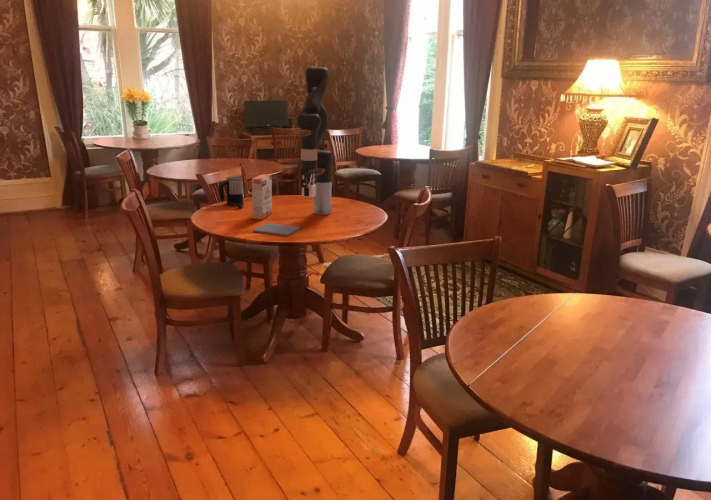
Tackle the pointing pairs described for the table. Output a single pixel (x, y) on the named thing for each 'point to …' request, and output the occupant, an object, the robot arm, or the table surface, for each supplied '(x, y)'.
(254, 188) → the cracker box
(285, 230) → the slate mat
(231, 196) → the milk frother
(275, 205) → the table surface
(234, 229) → the table surface
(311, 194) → the cream cube
